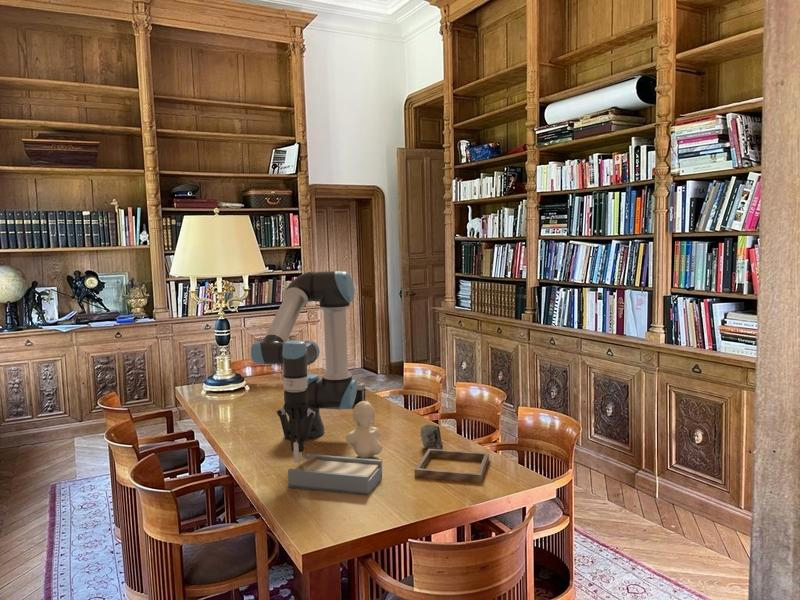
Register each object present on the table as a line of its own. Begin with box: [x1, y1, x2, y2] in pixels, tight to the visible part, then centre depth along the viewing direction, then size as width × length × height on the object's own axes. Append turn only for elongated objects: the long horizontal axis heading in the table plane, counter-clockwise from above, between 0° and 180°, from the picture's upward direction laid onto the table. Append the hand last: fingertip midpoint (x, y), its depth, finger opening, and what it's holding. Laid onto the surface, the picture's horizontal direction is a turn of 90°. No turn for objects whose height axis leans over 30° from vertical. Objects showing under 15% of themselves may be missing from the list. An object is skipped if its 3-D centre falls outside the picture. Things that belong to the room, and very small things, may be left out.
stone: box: [420, 424, 444, 450], centre depth 227 cm, size 10×10×10 cm
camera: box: [353, 382, 366, 405], centre depth 294 cm, size 14×8×10 cm, turn 58°
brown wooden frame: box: [414, 448, 490, 484], centre depth 207 cm, size 21×20×2 cm
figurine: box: [345, 400, 383, 459], centre depth 218 cm, size 14×9×20 cm
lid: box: [295, 456, 378, 478], centre depth 196 cm, size 25×12×2 cm, turn 75°
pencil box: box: [287, 453, 383, 496], centre depth 196 cm, size 26×15×6 cm, turn 75°
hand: (298, 461), depth 200 cm, fingers closed
